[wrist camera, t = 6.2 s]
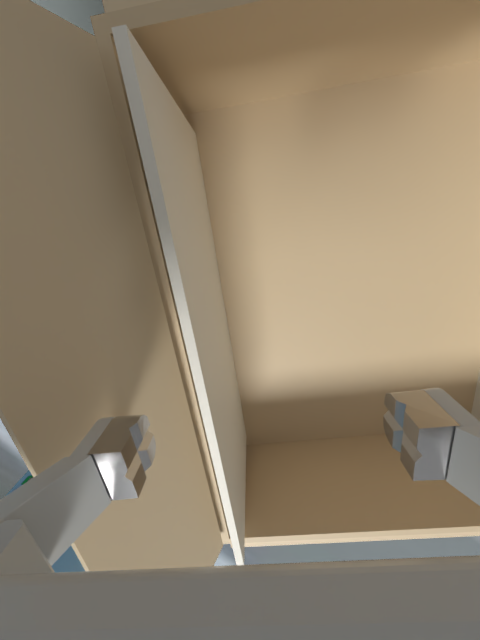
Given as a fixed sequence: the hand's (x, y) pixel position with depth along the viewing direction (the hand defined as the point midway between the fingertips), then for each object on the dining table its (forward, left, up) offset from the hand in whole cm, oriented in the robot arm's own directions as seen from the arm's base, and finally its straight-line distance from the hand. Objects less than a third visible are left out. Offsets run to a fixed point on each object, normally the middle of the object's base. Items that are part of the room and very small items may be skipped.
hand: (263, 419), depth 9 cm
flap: (0, +4, -4) cm, 5 cm away
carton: (0, -7, -12) cm, 14 cm away
